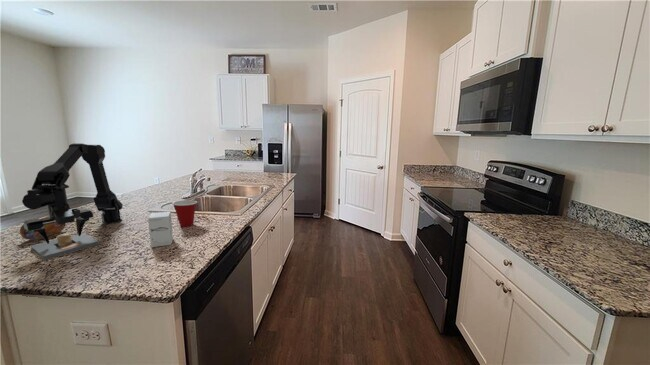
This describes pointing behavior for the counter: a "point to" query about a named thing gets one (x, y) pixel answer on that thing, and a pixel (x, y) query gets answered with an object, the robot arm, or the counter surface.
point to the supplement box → (160, 229)
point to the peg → (64, 239)
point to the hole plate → (52, 248)
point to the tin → (49, 229)
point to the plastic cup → (185, 212)
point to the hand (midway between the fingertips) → (64, 239)
